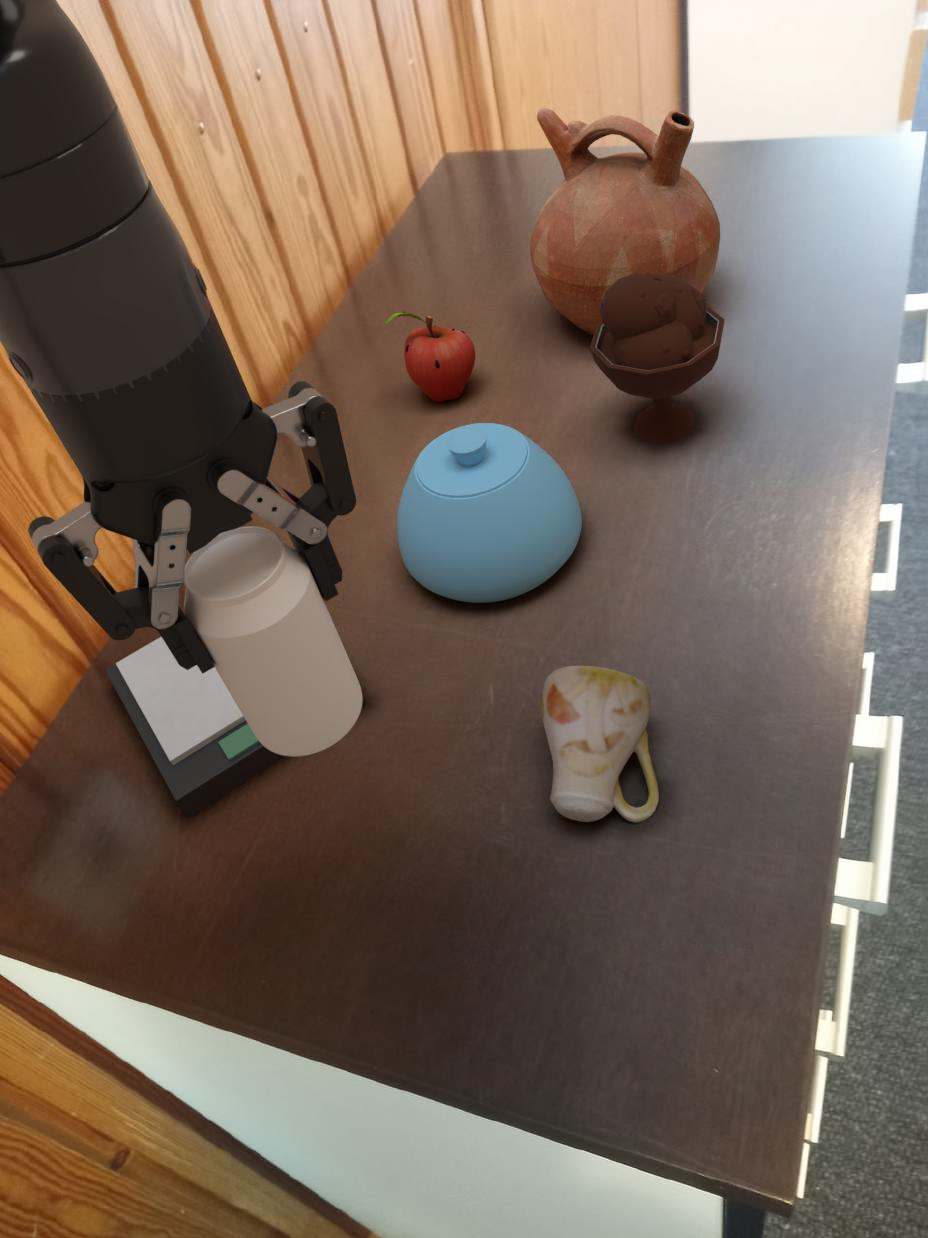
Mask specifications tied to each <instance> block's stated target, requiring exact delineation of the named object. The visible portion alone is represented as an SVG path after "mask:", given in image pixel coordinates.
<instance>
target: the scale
mask: <svg viewBox="0 0 928 1238" xmlns="http://www.w3.org/2000/svg"><path fill="white" fill-rule="evenodd" d="M105 673H106V675H107V677H108V679H109V680H110V682H111V684H112V686H113V688H114V690H115V692H116V693H117V695H118V697H119V699H120V701H121V702H122V704H123V706H124V708H125V710H126V712H127V713H128V716H129V717H130V719H131V721H132V723H133V725H134V726H135V728H136V730H137V732H138V734H139V736H140V738H141V740H142V742H143V743H144V745H145V747H146V749H147V750H148V752H149V754H150V756H151V759H152V760H153V762H154V764H155V765H156V767H157V769H158V771H159V773H160V775H161V777H162V779H163V780H164V782H165V784H166V786H167V788H168V790H169V792H170V793H171V796H172V797H173V799H174V801H175V802H176V803H177V805H178V806H179V807H180V809H181V811H182V812H183V813H184V814H185V816H186V817H187V818H189V819H190V818H191V817H194V815H196V814H198V813H199V812H201V811H203V810H204V809H206V808H207V807H209V806H210V805H212V804H214V803H215V802H217V801H218V800H220V799H221V798H223V797H224V796H226V795H227V794H229V793H231V792H232V791H234V790H235V789H237V788H238V787H240V786H242V785H243V784H245V783H246V782H248V781H250V780H251V779H252V778H254V777H256V776H258V775H259V774H260V773H262V772H264V771H265V770H267V769H268V768H271V766H273V765H275V764H276V763H278V762H279V761H281V760H282V759H284V758H286V756H284V755H280V754H277V753H274V752H272V751H270V750H268V749H267V748H266V747H264V746H263V745H262V744H261V743H260V741H259V740H258V739H257V737H256V736H255V734H254V733H253V731H252V730H251V728H250V726H249V725H248V723H247V721H246V720H245V718H244V716H243V715H242V713H241V711H240V709H239V708H238V706H237V704H236V703H235V701H234V699H233V698H232V696H231V694H230V692H229V691H228V689H227V687H226V686H225V684H224V682H223V681H222V679H221V677H220V675H219V674H218V672H217V670H216V669H215V667H214V668H212V669H210V670H208V671H207V672H205V673H203V674H202V672H201V671H200V669H199V667H198V666H197V665H196V666H194V667H192V668H191V669H189V670H186V669H185V668H183V667H181V666H179V664H178V662H177V661H176V659H175V658H174V656H173V654H172V653H171V651H170V650H169V648H168V646H167V645H166V643H165V642H164V640H163V638H162V637H161V636H160V637H158V638H156V639H155V640H153V641H151V642H150V643H148V644H146V645H145V646H144V645H143V647H141V648H139V649H137V650H136V651H134V652H133V653H130V654H129V655H128V656H126V657H124V658H122V659H121V660H119V661H117V662H115V665H112V666H111V667H109V668H107V669H106V670H105ZM362 698H363V701H362V708H364V707H366V706H367V702H366V700H365V698H364V696H363V695H362Z"/></svg>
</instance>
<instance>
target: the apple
mask: <svg viewBox="0 0 928 1238" xmlns="http://www.w3.org/2000/svg"><path fill="white" fill-rule="evenodd" d="M401 317H411V318H412V319H415V320H419V321H421V322H423V323H425V325H426V326H423V327H419V328H416V329H413V330H412V331H410V332H409V334H408V335H407V337H406V338H405V342H404V364H405V368H406V372H407V374H408V376H409V378H410V379H411V380H412V382H413V383H414V384H415V385H416V386H417V387H418V388H419V389H420V390H421V391H422V392H424V394H425V395H427V397H428V398H430V399H431V400H432V401H434V402H437V403H440V402H441V403H443V402H445V401H450V400H456V399H458V398H459V397H461V395H462V393H463V392H464V389H465V387H466V386H467V383H468V381H469V380H470V377H471V375H472V373H473V370H474V369H475V368H474V367H475V363H476V348H475V345H474V343H473V341H472V339H471V337H469V335H467V333H466V332H465V331H463V330H458V329H455V328H450V327H442V326H436V325H433V321H434V317H433V316H430V315H426V316H425V320H423V319H422V318H421V317H419V315H416V314H414V313H411V312H406V311H402V312H395V313H393V314H392V315H390V317H388V318H387V320H386V321H385V322H384V323H382V324H381V326H384V325H387V324H388V323H390V322H391V321H393V320H394V319H396V318H401Z"/></svg>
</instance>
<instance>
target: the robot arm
mask: <svg viewBox="0 0 928 1238" xmlns="http://www.w3.org/2000/svg"><path fill="white" fill-rule="evenodd" d="M207 290H208V288H207V285H206V282H205V280H204V277H203V274H202V273H201V271H200V269H199V268H198V267H197V265H196V264H195V263H194V261H193V259H192V257H191V255H190V252H189V249H188V247H187V245H186V242H185V241H184V239H183V237H182V234H181V233H180V231H179V230H178V228H177V226H176V224H175V222H174V220H173V218H172V217H171V216H170V214H169V212H168V211H167V209H166V207H165V206H164V204H163V202H162V201H161V199H160V197H159V195H158V194H157V191H156V190H155V187H154V185H153V183H152V181H151V180H150V178H149V176H148V173H147V171H146V169H145V166H144V163H143V162H142V159H141V157H140V155H139V153H138V150H137V148H136V146H135V143H134V141H133V138H132V136H131V134H130V132H129V130H128V127H127V125H126V123H125V120H124V118H123V115H122V113H121V111H120V109H119V106H118V104H117V102H116V99H115V96H114V93H113V92H112V89H111V86H110V85H109V83H108V81H107V79H106V77H105V75H104V72H103V71H102V69H101V66H100V65H99V63H98V61H97V59H96V57H95V55H94V53H92V51H91V48H90V47H89V46H88V44H87V41H86V40H85V38H84V37H83V36H82V34H81V32H80V31H79V29H78V28H77V26H76V25H75V24H74V23H73V21H72V19H71V18H70V17H69V16H68V15H67V13H66V12H65V11H64V10H63V8H62V7H61V5H60V4H59V2H58V1H57V0H0V343H1V345H2V347H3V348H4V350H5V351H6V354H7V358H8V361H9V363H10V364H11V366H12V367H13V369H14V370H15V371H16V373H17V374H18V375H19V376H20V377H21V378H22V379H23V381H24V383H25V384H26V386H27V388H28V389H29V390H30V392H31V394H32V397H33V398H34V399H35V401H36V402H37V404H38V406H39V408H40V409H41V411H42V413H43V414H44V416H45V418H46V419H47V421H48V422H49V424H50V425H51V427H52V429H53V430H54V433H55V434H56V436H57V438H58V439H59V440H60V443H61V444H62V446H63V447H64V449H65V450H66V452H67V454H68V456H69V457H70V459H71V460H72V462H73V463H74V466H75V467H76V468H77V470H78V472H79V474H80V475H81V477H82V481H83V502H81V503H80V504H79V505H77V506H75V507H74V508H72V509H71V510H69V511H68V512H66V513H64V514H62V516H60V517H58V518H57V519H54V518H53V517H51V516H46V515H45V516H43V515H42V516H39V517H36V518H34V519H33V520H32V521H31V522H30V523H29V525H28V528H27V532H28V535H29V537H30V539H31V541H32V543H33V546H34V547H35V549H36V551H37V554H38V555H39V558H40V559H41V561H42V563H43V565H44V567H45V568H46V569H47V570H48V571H49V572H50V573H51V574H52V575H53V577H55V579H56V580H57V581H58V582H59V583H60V584H61V585H62V586H63V588H65V589H66V590H67V592H68V593H69V594H70V595H71V596H72V597H73V598H74V599H75V600H76V601H77V603H78V604H79V605H80V606H81V608H83V609H84V610H85V612H86V613H87V614H89V616H90V617H91V618H92V619H93V620H94V621H95V622H96V624H98V626H100V628H101V629H102V630H103V631H104V632H105V633H106V634H107V635H108V636H109V638H111V639H112V640H114V641H124V640H127V639H129V638H130V637H131V636H132V635H134V633H135V632H136V630H139V629H142V628H143V629H144V628H151V629H154V630H156V631H157V633H158V634H159V635H160V637H162V638H163V640H164V642H165V643H166V645H167V646H168V648H169V650H170V651H171V653H172V654H173V656H174V658H175V659H176V661H177V662H178V664H179V666H181V667H183V668H185V669H186V670H189V669H191V668H192V667H194V666H196V665H197V666H198V667H199V669H200V671H201V672H202V674H203V673H205V672H207V671H208V670H210V669H212V668H214V667H215V665H214V664H213V662H212V660H211V659H210V657H209V655H208V653H207V652H206V650H205V648H204V647H203V645H202V643H201V641H200V640H199V638H198V636H197V635H196V633H195V631H194V630H193V628H192V626H191V624H190V623H189V621H188V619H187V618H186V616H185V612H184V610H182V608H181V606H180V605H179V601H180V587H181V586H184V577H185V565H186V563H187V562H186V560H187V552H188V553H189V555H192V554H193V553H194V552H195V551H197V550H199V549H201V548H202V547H204V546H206V545H207V544H208V543H209V542H211V541H212V540H213V539H214V538H215V537H216V536H218V535H219V534H221V533H223V532H227V531H230V530H233V529H237V528H240V527H244V525H246V524H248V523H250V522H252V521H253V518H252V515H253V514H256V515H257V516H258V517H260V518H262V519H264V520H266V521H267V522H268V523H270V524H271V525H274V526H275V527H276V528H278V529H280V530H283V529H284V530H286V532H287V534H288V536H289V539H290V541H291V543H292V546H293V549H294V550H296V551H297V552H299V553H300V554H301V555H302V556H303V557H304V559H305V560H306V562H307V564H308V566H309V568H310V571H311V573H312V575H313V577H314V580H315V582H316V584H317V587H318V589H319V591H320V593H321V596H322V598H323V600H324V602H328V601H330V600H332V599H333V598H335V597H337V596H339V592H338V589H337V587H336V584H337V585H338V584H339V583H340V582H342V581H343V569H342V567H341V563H340V561H339V560H338V557H337V554H336V552H335V550H334V548H333V544H332V543H331V540H330V538H329V533H328V530H329V527H330V526H331V523H332V522H333V521H334V520H335V519H336V518H337V517H338V516H346V515H349V514H350V513H352V512H353V510H354V509H355V508H356V506H357V498H356V493H355V488H354V484H353V479H352V475H351V470H350V466H349V462H348V458H347V453H346V449H345V444H344V440H343V435H342V431H341V430H342V429H341V426H340V421H339V416H338V413H337V409H336V407H335V406H334V405H333V404H332V403H331V402H330V401H329V400H328V399H327V398H326V397H324V395H322V394H321V393H320V392H319V390H317V389H316V388H315V387H314V386H313V385H312V384H311V383H310V382H308V381H304V380H301V381H297V382H295V383H293V384H292V385H291V387H290V388H289V390H288V395H287V397H288V398H286V399H284V400H281V401H279V402H276V403H274V404H271V405H268V406H266V407H264V408H263V407H261V406H260V405H259V404H257V403H256V402H254V401H253V399H252V397H251V396H250V395H251V394H250V392H249V390H248V387H247V385H246V384H245V381H244V378H243V376H242V374H241V371H240V369H239V366H238V365H237V363H236V361H235V358H234V355H233V354H232V350H231V348H230V346H229V344H228V341H227V339H226V337H225V334H224V332H223V329H222V328H221V325H220V323H219V320H218V317H217V316H216V313H215V310H214V308H213V306H212V304H211V301H210V299H209V296H208V293H207ZM279 435H285V436H287V438H288V439H289V440H290V441H291V442H292V443H293V444H294V445H295V446H296V447H298V448H301V451H302V455H303V459H304V463H305V464H304V465H305V467H306V471H307V475H308V478H309V482H310V487H309V488H308V489H307V490H306V491H305V492H304V493H303V494H302V495H301V496H300V497H299V496H298V495H297V494H296V493H294V492H292V491H291V490H289V489H288V488H287V487H285V486H284V485H281V484H280V483H279V482H278V481H277V480H275V479H274V478H273V477H272V476H270V474H269V473H270V469H271V465H272V461H273V457H274V453H275V449H276V445H277V443H278V436H279ZM101 529H104V530H106V531H109V532H112V533H114V534H117V535H121V536H123V537H125V538H128V539H132V553H133V557H134V562H135V565H134V587H132V588H129V589H125V590H121V591H117V590H116V588H115V587H114V586H112V584H111V583H110V582H109V581H108V580H107V578H106V577H105V576H104V575H103V574H102V572H100V570H99V569H98V568H97V566H96V565H95V562H96V560H97V558H98V556H99V553H100V552H99V547H98V545H97V543H96V535H97V533H98V532H99V530H101Z"/></svg>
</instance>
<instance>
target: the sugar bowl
mask: <svg viewBox="0 0 928 1238" xmlns="http://www.w3.org/2000/svg"><path fill="white" fill-rule="evenodd" d="M396 518H397V520H396V521H397V523H396V524H397V527H396V528H397V541H398V542H397V543H398V549H399V552H400V556H401V559H402V562H403V564H404V566H405V568H406V569H407V572H408V573H409V574H410V576H412V577H413V578H414V579H415V580H416V582H418V583H419V584H420V585H421V586H422V587H424V588H425V589H427V590H428V591H430V592H432V593H434V594H436V595H438V596H442V597H443V598H447V599H450V600H454V601H459V602H463V603H472V604H473V603H475V604H485V603H497V602H501V601H507V600H510V599H513V598H517V597H518V596H522V595H525V594H526V593H528V592H531V591H533V590H534V589H536V588H537V587H539V586H541V585H542V584H544V583H545V582H546V581H548V580H549V579H550V578H551V577H553V576H554V575H555V574H556V573H557V572H558V571H559V570H560V569H561V568H562V567H563V566H564V565H565V564H566V562H567V561H568V560H569V559H570V557H571V556H572V554H573V552H574V551H575V549H576V547H577V545H578V543H579V540H580V536H581V534H582V533H581V532H582V526H583V516H582V511H581V506H580V502H579V499H578V497H577V494H576V492H575V490H574V487H573V485H572V483H571V482H570V480H569V478H568V476H567V475H566V473H565V472H564V470H563V469H562V468H561V466H560V465H559V463H557V461H556V460H555V459H554V458H553V457H552V456H551V455H550V454H549V453H548V452H546V451H545V450H544V449H543V448H542V447H540V445H538V444H537V443H535V442H534V441H533V440H531V439H530V438H529V437H528V436H526V435H525V434H524V433H521V432H520V431H519V430H516V429H514V428H513V427H511V426H508V425H504V424H501V423H493V422H477V423H476V422H475V423H470V424H466V425H461V426H459V427H455V428H453V429H451V430H448V431H446V432H444V433H442V434H440V435H439V436H437V437H436V438H435V439H432V441H430V443H428V444H427V445H426V446H425V447H424V448H423V449H422V451H421V452H419V455H418V457H417V458H416V460H415V461H414V464H413V465H412V467H411V469H410V472H409V473H408V477H407V479H406V482H405V485H404V486H403V490H402V493H401V497H400V500H399V504H398V511H397V517H396Z"/></svg>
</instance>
